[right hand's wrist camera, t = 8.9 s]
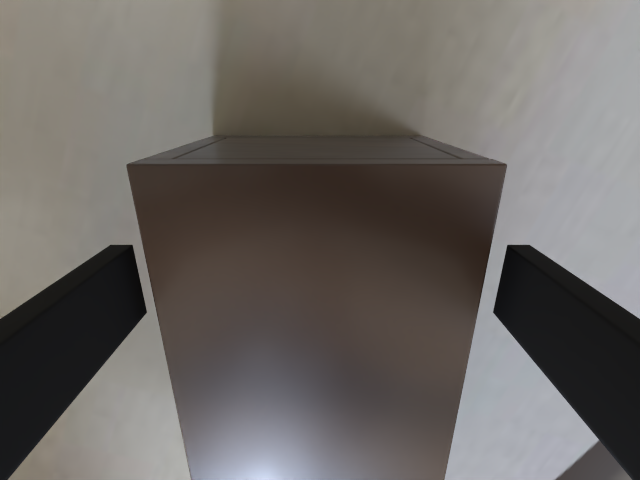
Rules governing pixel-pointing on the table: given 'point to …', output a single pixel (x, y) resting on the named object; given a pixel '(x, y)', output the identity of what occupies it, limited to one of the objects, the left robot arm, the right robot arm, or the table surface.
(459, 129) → the table surface
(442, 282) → the cabinet
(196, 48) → the table surface
